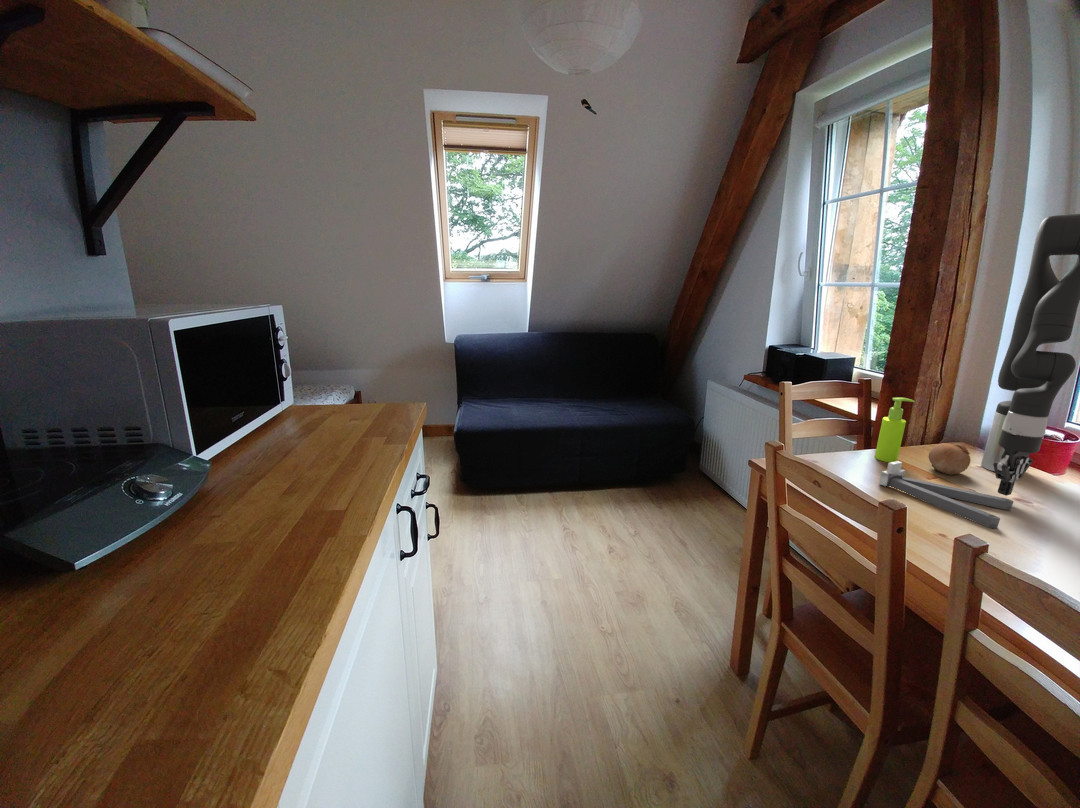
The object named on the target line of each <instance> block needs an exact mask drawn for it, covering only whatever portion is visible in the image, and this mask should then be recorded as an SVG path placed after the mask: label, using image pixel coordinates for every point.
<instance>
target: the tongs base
mask: <svg viewBox="0 0 1080 808" xmlns="http://www.w3.org/2000/svg"><path fill="white" fill-rule="evenodd" d="M888 486H891V487H894V488H896V489H899V490H901V491H904V492H906V493H908V494H911V495H913V496H915V497H917V498H919V499H918V500H920V499H922V500H924V501H923V502H925V501H926V503H927V502H928V504H930V503H931V504H930V505H932V504H933V505H932V506H935V505H936V506H935V507H937V506H938V508H939V509H942V508H943V510H945V511H948V512H950V513H952V512H953V513H952V514H955V513H956V514H955V515H957V514H958V515H957V516H960V515H961V516H960V517H962V516H963V517H962V518H964V517H966V518H965V519H967V518H968V519H967V520H969V519H971V520H970V521H972V520H973V521H972V522H974V521H975V523H977V524H980V525H982V526H985V527H988V528H989V529H992V530H993V529H994V530H996V529H998V527H999V524H1000V520H1001V517H1000V516H997V515H994V514H993V513H990V512H986V511H985V510H984V511H983V510H982V509H979V508H977V507H973V506H971V505H968V504H966V503H964V502H961V501H958V500H955V499H954V498H951V497H947V496H942V495H940V494H937V493H935V492H932V491H929V490H927V489H924V488H921V487H919V486H916V485H914V484H911V483H908V482H906V481H903V480H901V476H896V477H892V478H890V480H889V484H888ZM888 486H887V487H888ZM915 497H914V498H915ZM917 498H916V499H917ZM922 500H921V501H922Z"/></svg>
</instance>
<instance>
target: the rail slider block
mask: <svg viewBox="0 0 1080 808" xmlns="http://www.w3.org/2000/svg"><path fill="white" fill-rule="evenodd" d="M902 465H903V462H902V461H899V460H897V461H895V462H887V468H886V470H881V473H880V476H879V477H880V478H879V482H878V484H879V485H881V486H884V487H886V486H887V487H888V484H889V480H890V478H892V477H896V476H901V480H902V478H903V477H905V474H906V469H902V467H903V466H902Z"/></svg>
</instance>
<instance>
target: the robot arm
mask: <svg viewBox="0 0 1080 808" xmlns="http://www.w3.org/2000/svg"><path fill="white" fill-rule="evenodd" d="M1076 255H1077V259H1076V261H1075V263H1074V265H1073V266H1072V268H1071V269H1070V271H1069V272H1068V273H1067V274H1066V275H1065V276H1064V277H1063V278H1061V280H1059V279H1058V277H1057V275H1056V274H1055V272H1054V270H1053V268H1052V265H1051V260H1050V256H1076ZM1079 304H1080V213H1073V214H1071V213H1070V214H1056V215H1055V214H1054V215H1048V216H1047V217H1046V218H1044V219H1043V220H1042V221H1041V223H1040V225H1039V227H1038V229H1037V232H1036V237H1035V239H1034V245H1033V250H1032V256H1031V261H1030V267H1029V271H1028V277H1027V280H1026V283H1025V287H1024V289H1023V293H1022V295H1021V299H1020V302H1019V305H1018V309H1017V313H1016V317H1015V320H1014V324H1013V325H1014V326H1013V329H1012V335H1011V339H1010V342H1009V345H1008V347H1007V350H1006V354H1005V356H1004V359H1003V362H1002V365H1001V367H1000V370H999V372H998V379H997V385H998V387H999V388H1000V389H1002V390H1006V391H1010V392H1011V391H1012V392H1013V391H1014V392H1013V395H1012V399H1011V400H1004V401H1000V402H999V403H997V406H996V409H995V412H994V415H993V419H992V423H991V428H990V430H989V433H988V438H987V441H986V445H985V448H984V453H983V456H982V459H981V462H980V465H981V467H982V468H984V469H986V470H989V471H993V472H994V473H995V478H996V479H999V480H1000V482H999V484H998V489H997V493H998V494H1000V495H1003V496H1006V497H1007V496H1010V495H1012V493H1013V490H1014V487H1015V483H1017V482H1018V479H1019V480H1021V479H1022V478H1023V476H1024V475H1025V473H1026V472H1027V471H1028V470H1029V468H1030V467H1031V465H1032V464H1033V462H1034V458H1030V454H1036V453H1038V452H1040V449H1041V446H1042V443H1043V439H1044V436H1045V433H1046V430H1047V428H1048V427H1047V426H1048V420H1049V416H1050V412H1051V409H1052V406H1053V402H1054V400H1055V399H1056V397H1057V395H1058V393H1059V391H1060V390H1061V389H1062V388H1063V387H1064V385H1065V384H1066V382H1068V380H1069V379H1070V377H1071V376H1072V375H1073V373H1074V372H1075V369H1076V365H1077V364H1076V359H1075V358H1074V357H1073V355H1071V354H1070V353H1066V352H1060V351H1057V352H1056V351H1045V350H1038V347H1039V346H1041V345H1046V344H1056V343H1064V342H1066V341H1068V340H1070V338H1071V336H1072V333H1073V330H1074V329H1073V328H1074V325H1075V321H1076V315H1077V311H1078V307H1079Z"/></svg>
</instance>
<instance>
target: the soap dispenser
mask: <svg viewBox="0 0 1080 808" xmlns="http://www.w3.org/2000/svg"><path fill="white" fill-rule="evenodd" d="M891 399H892V401H893V402H894V404H893V406H892V407H889V411H888V416H884V417H882V419H881V426H880V430H879V435H878V440H877V444H876V448H875V454H874V458H875V459H877V460H879V461H881V462H885V463H890V462H895V461H898V458H899V454H900V449H901V445H902V441H903V437H904V432H905V427H906V424H907V421H906V420H905V419H903V418H902V417H903V414H904V409H903V408H901V407H902V403H903V402H910V403H914V402H916V401H915V400H913V399H912V398H911V399H910V398H907V397H892V398H891Z"/></svg>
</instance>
